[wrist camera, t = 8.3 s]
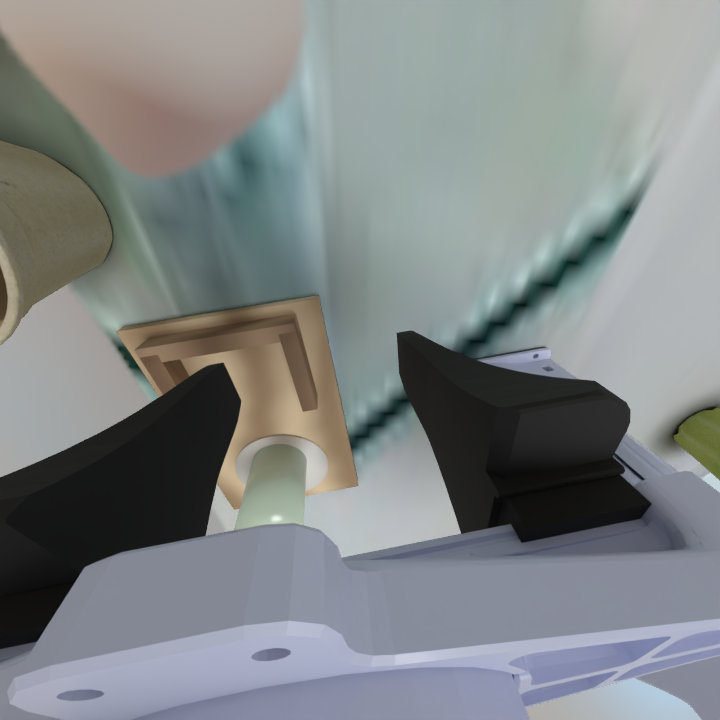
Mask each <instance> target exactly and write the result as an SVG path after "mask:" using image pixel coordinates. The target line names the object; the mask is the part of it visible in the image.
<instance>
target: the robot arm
mask: <svg viewBox="0 0 720 720" xmlns="http://www.w3.org/2000/svg"><path fill="white" fill-rule="evenodd" d="M397 343H398V360H399V374H400V377H401V380H402V383H403V386H404V389H405V392H406V394H407V396H408V398H409V400H410V402H411V404H412V406H413V408H414V410H415V412H416V414H417V416H418V418H419V420H420V422H421V424H422V426H423V428H424V430H425V432H426V434H427V436H428V439H429V441H430V443H431V446H432V449H433V452H434V454H435V457H436V460H437V462H438V465H439V468H440V471H441V474H442V477H443V479H444V482H445V485H446V488H447V491H448V494H449V497H450V500H451V503H452V506H453V509H454V512H455V515H456V518H457V521H458V525H459V528H460V531H461V534H458V535H453V536H448V537H443V538H438V539H433V540H428V541H423V542H418V543H413V544H408V545H403V546H398V547H393V548H388V549H383V550H378V551H373V552H368V553H363V554H358V555H353V556H348V557H343V558H341V555H340V552H339V549H338V547H337V546H336V545H335V544H334V543H333V542H332V541H331V540H330V539H329V538H328V537H327V536H326V535H325V534H324V533H323V532H322V531H321V530H319V529H315V528H311V527H308V526H304V525H300V524H296V523H286V524H266V525H259V526H254V527H249V528H244V529H239V530H234V531H229V532H223V533H218V534H213V535H208V536H206V530H207V525H208V520H209V515H210V510H211V505H212V501H213V497H214V493H215V488H216V484H217V480H218V477H219V474H220V471H221V468H222V465H223V462H224V459H225V457H226V454H227V451H228V448H229V446H230V443H231V440H232V437H233V434H234V431H235V429H236V426H237V423H238V418H239V413H240V407H241V399H240V397H239V394H238V392H237V390H236V388H235V386H234V384H233V382H232V379H231V377H230V375H229V373H228V371H227V369H226V366H225V364H224V362H223V363H217V364H212V365H208V366H206V367H204V368H202V369H200V370H199V371H197V372H196V373H194V374H193V375H191V376H190V377H188V378H187V379H185V380H184V381H182V382H181V383H179V384H178V385H176V386H175V387H174V388H172V389H171V390H169V391H168V392H166V393H165V394H163V395H162V396H160V397H159V398H157V399H156V400H154V401H153V402H151V403H150V404H148V405H147V406H145V407H144V408H142V409H141V410H139V411H137V412H136V413H134V414H132V415H131V416H129V417H127V418H126V419H124V420H122V421H121V422H119V423H117V424H115V425H113V426H111V427H110V428H108V429H106V430H104V431H102V432H100V433H98V434H97V435H94V436H92V437H90V438H88V439H86V440H84V441H82V442H80V443H78V444H76V445H74V446H72V447H70V448H68V449H66V450H64V451H62V452H60V453H57V454H55V455H53V456H50V457H48V458H46V459H44V460H41V461H39V462H37V463H35V464H32V465H30V466H28V467H25V468H22V469H20V470H18V471H15V472H13V473H10V474H8V475H5V476H3V477H0V720H530V718H529V716H528V713H527V711H526V707H529V706H533V705H537V704H541V703H544V702H548V701H551V700H555V699H559V698H562V697H566V696H570V695H573V694H577V693H581V692H584V691H588V690H591V689H595V688H599V687H603V686H606V685H610V684H614V683H617V682H621V681H624V680H628V679H632V678H636V679H639V680H641V681H643V682H645V683H648V684H650V685H652V686H654V687H657V688H659V689H661V690H664V691H666V692H668V693H669V694H672V695H674V696H676V697H678V698H680V699H681V700H683V701H685V702H686V703H688V704H689V705H690V706H691V707H692V708H693V709H694V710H695V712H696V713H697V714H698V715H699V716H700V718H701V719H702V720H720V493H719V492H718V491H717V490H715V489H714V488H713V487H711V486H710V485H709V484H707V483H706V482H705V481H703V480H702V479H701V478H699V477H698V476H697V475H695V474H694V473H692V472H689V471H683V472H678V471H677V470H676V469H674V468H673V467H672V466H671V465H669V464H668V463H667V462H665V461H664V460H663V459H661V458H660V457H659V456H657V455H656V454H655V453H653V452H652V451H651V450H649V449H648V448H646V447H645V446H644V445H642V444H641V443H640V442H638V441H637V440H636V439H634V438H633V437H631V436H630V435H628V434H627V433H626V431H627V429H628V426H629V424H630V409H629V407H628V405H627V403H626V402H625V401H623V400H622V399H620V398H619V397H618V396H616V395H615V394H613V393H612V392H610V391H609V390H607V389H606V388H605V387H603V386H602V385H600V384H599V383H597V382H596V381H590V380H579V379H577V378H576V377H574V376H573V375H572V374H570V373H569V372H567V371H566V370H565V369H563V368H562V367H560V366H559V365H558V364H556V363H555V362H553V361H552V360H551V359H550V357H551V352H552V351H551V350H550V349H548V348H541V349H535V350H530V351H524V352H518V353H513V354H507V355H501V356H496V357H490V358H484V359H478V360H475V359H471V358H469V357H466V356H463V355H461V354H459V353H456V352H454V351H452V350H449V349H447V348H445V347H443V346H441V345H439V344H437V343H435V342H433V341H431V340H429V339H427V338H425V337H424V336H422V335H420V334H418V333H416V332H414V331H406V332H400V333H397Z"/></svg>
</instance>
